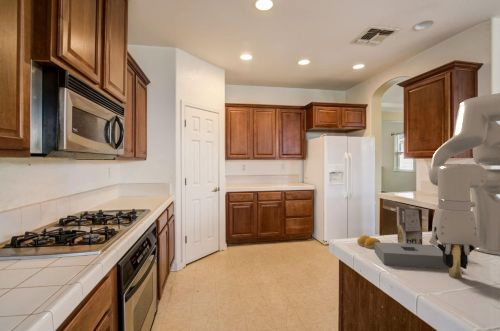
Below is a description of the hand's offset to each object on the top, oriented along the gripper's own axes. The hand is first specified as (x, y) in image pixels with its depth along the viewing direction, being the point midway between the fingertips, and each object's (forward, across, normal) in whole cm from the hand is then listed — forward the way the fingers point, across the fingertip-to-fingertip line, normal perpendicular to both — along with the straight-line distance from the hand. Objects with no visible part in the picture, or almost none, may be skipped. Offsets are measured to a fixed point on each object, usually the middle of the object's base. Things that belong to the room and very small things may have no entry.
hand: (455, 266), depth 75 cm
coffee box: (+4, +2, -29) cm, 29 cm away
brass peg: (+3, 0, 0) cm, 3 cm away
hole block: (+3, +8, -12) cm, 15 cm away
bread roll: (+4, +18, -27) cm, 33 cm away
